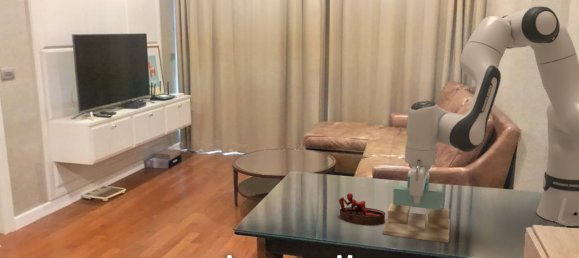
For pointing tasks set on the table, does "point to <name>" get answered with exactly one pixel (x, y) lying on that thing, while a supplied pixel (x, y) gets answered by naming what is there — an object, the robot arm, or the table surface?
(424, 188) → the pill bottle
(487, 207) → the table surface
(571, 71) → the robot arm
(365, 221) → the figurine
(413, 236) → the display stand
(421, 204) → the teal c-shaped bracket
